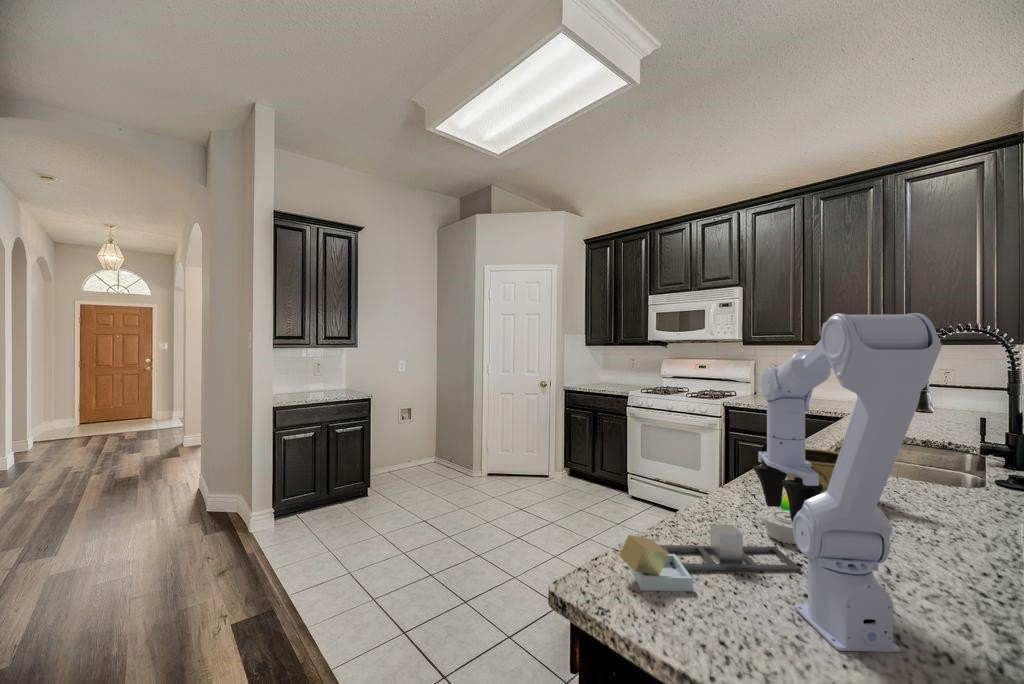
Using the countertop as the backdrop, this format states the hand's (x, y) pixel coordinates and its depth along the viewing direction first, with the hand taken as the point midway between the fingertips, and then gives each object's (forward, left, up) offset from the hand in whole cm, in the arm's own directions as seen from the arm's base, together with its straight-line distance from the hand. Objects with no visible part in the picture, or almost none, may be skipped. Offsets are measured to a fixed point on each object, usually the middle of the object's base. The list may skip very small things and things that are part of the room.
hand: (785, 514), depth 78 cm
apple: (+22, -15, -10) cm, 29 cm away
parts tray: (-3, +23, -10) cm, 25 cm away
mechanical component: (+9, -5, -8) cm, 13 cm away
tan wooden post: (-2, +23, -7) cm, 24 cm away
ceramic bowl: (+38, -31, -10) cm, 50 cm away
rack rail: (+3, +9, -10) cm, 14 cm away
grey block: (+3, +9, -10) cm, 14 cm away
